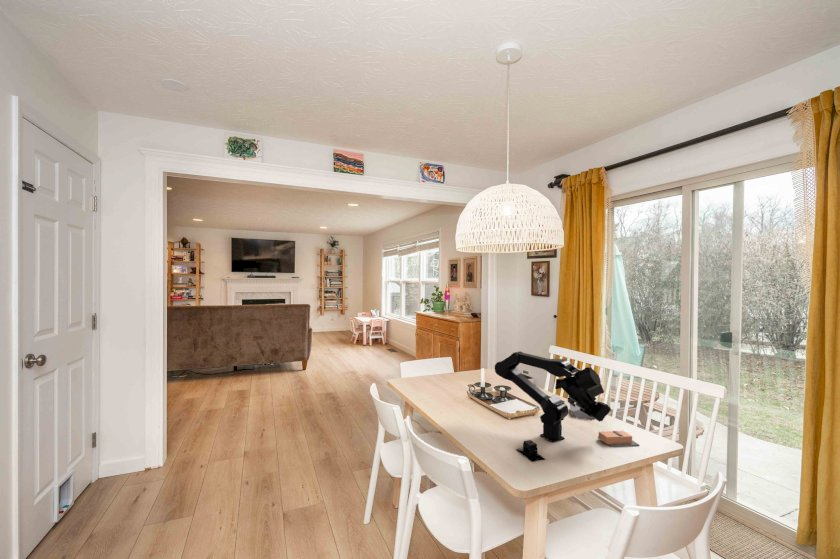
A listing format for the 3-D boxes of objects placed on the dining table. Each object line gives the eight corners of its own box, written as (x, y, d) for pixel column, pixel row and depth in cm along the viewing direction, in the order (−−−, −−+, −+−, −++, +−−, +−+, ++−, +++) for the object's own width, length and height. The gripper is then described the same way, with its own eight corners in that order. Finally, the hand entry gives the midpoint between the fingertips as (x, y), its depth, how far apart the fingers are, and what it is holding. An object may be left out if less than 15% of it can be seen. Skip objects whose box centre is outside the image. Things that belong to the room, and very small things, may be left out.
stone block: (574, 422, 162) (598, 419, 160) (571, 411, 163) (596, 408, 161) (568, 413, 174) (591, 411, 172) (566, 403, 174) (589, 400, 172)
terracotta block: (606, 436, 136) (632, 435, 137) (598, 430, 140) (623, 429, 142) (606, 444, 136) (632, 443, 137) (598, 438, 140) (623, 437, 142)
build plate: (550, 462, 123) (550, 448, 123) (532, 466, 121) (532, 452, 121) (527, 446, 135) (527, 434, 135) (510, 449, 132) (510, 436, 132)
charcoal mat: (611, 446, 134) (611, 445, 134) (597, 437, 142) (597, 436, 142) (639, 445, 136) (639, 444, 136) (624, 436, 143) (624, 435, 143)
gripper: (606, 382, 129) (634, 412, 130) (575, 369, 147) (600, 396, 149) (585, 405, 127) (613, 436, 129) (556, 389, 146) (581, 416, 147)
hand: (602, 419), depth 139 cm, fingers closed
